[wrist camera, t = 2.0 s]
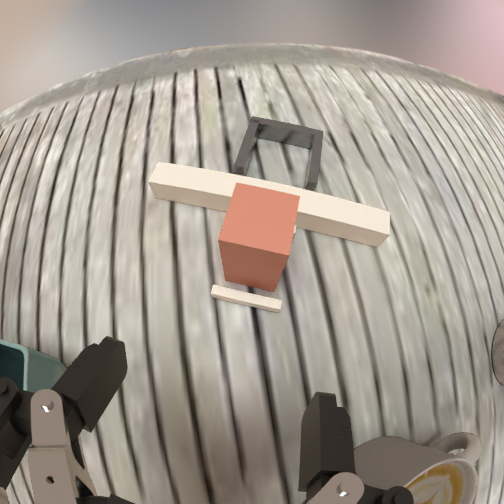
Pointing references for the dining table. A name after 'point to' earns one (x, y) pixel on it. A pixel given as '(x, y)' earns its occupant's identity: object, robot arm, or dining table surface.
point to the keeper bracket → (285, 135)
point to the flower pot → (29, 367)
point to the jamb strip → (310, 204)
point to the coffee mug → (422, 467)
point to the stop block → (257, 235)
